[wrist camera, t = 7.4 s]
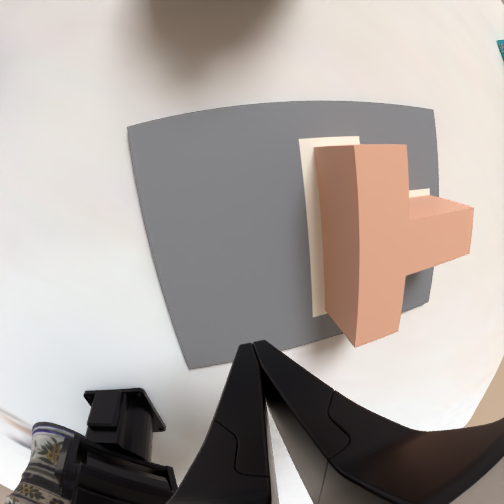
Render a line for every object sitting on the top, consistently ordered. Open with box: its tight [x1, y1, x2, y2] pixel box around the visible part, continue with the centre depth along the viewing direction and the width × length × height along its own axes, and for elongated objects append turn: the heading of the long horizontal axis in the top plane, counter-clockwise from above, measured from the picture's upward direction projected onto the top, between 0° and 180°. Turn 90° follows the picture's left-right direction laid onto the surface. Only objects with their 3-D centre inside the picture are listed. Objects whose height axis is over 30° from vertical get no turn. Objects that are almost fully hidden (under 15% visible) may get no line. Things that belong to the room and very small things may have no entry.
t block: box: [314, 144, 474, 347], centre depth 17 cm, size 12×10×5 cm
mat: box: [127, 101, 439, 369], centre depth 19 cm, size 18×23×1 cm
